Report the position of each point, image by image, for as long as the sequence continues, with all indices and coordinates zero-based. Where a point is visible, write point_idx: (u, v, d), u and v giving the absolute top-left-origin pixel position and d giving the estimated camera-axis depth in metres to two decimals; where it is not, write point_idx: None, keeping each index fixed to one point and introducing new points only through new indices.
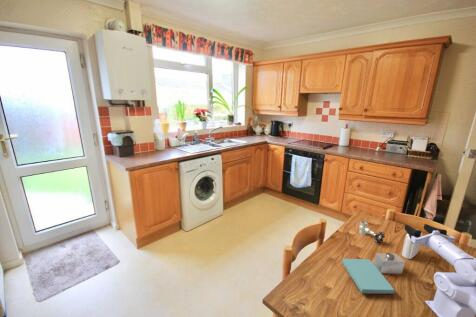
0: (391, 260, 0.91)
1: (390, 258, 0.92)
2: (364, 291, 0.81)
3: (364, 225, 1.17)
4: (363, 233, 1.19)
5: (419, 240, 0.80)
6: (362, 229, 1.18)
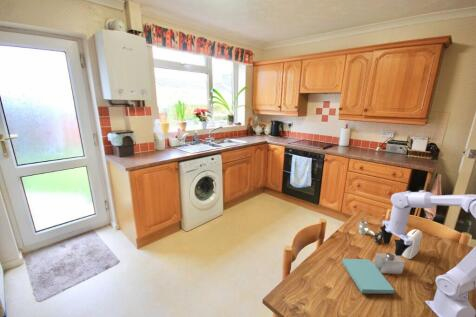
0: (391, 260, 0.91)
1: (390, 258, 0.92)
2: (364, 291, 0.81)
3: (364, 225, 1.18)
4: (363, 233, 1.19)
5: (405, 238, 0.84)
6: (362, 229, 1.18)
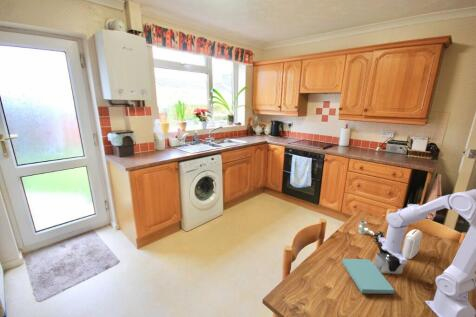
0: None
1: None
2: (364, 291, 0.81)
3: (363, 225, 1.18)
4: (362, 233, 1.19)
5: (400, 257, 0.87)
6: (361, 229, 1.18)
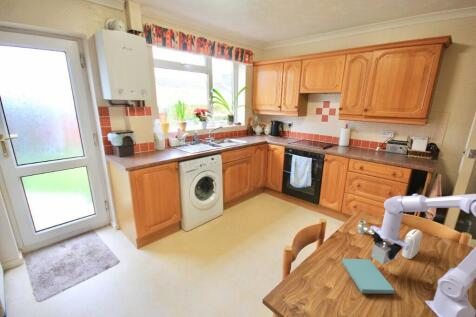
0: None
1: (389, 246, 0.88)
2: (364, 291, 0.81)
3: (363, 224, 1.18)
4: (362, 232, 1.19)
5: (402, 243, 0.83)
6: (361, 228, 1.19)
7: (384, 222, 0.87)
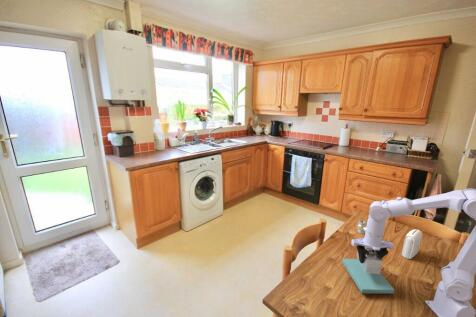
0: (375, 253, 0.85)
1: (374, 252, 0.85)
2: (364, 291, 0.81)
3: (362, 224, 1.18)
4: (361, 232, 1.19)
5: (387, 244, 0.84)
6: (360, 228, 1.19)
7: (369, 230, 0.82)
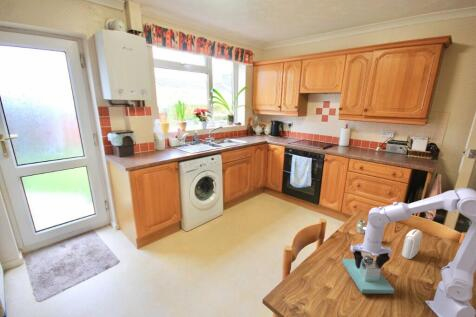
0: (374, 261, 0.86)
1: (373, 260, 0.86)
2: (364, 291, 0.81)
3: (362, 224, 1.18)
4: (361, 232, 1.20)
5: (386, 249, 0.84)
6: (360, 228, 1.19)
7: (368, 236, 0.83)
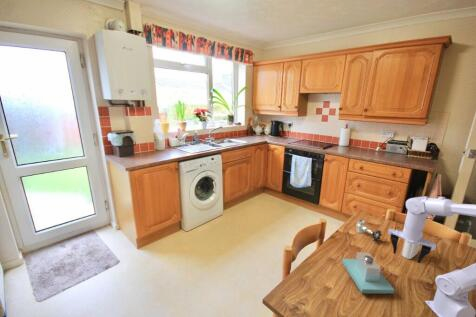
0: (374, 261, 0.86)
1: (373, 260, 0.86)
2: (364, 291, 0.81)
3: (361, 223, 1.19)
4: (360, 231, 1.20)
5: (429, 243, 0.81)
6: (359, 227, 1.19)
7: (406, 222, 0.84)
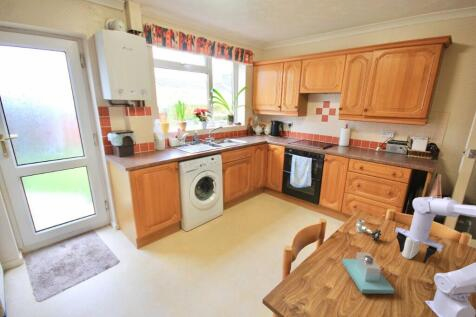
0: (374, 261, 0.86)
1: (373, 260, 0.86)
2: (364, 291, 0.81)
3: (361, 223, 1.19)
4: (360, 231, 1.20)
5: (435, 244, 0.81)
6: (359, 227, 1.20)
7: (412, 221, 0.84)
